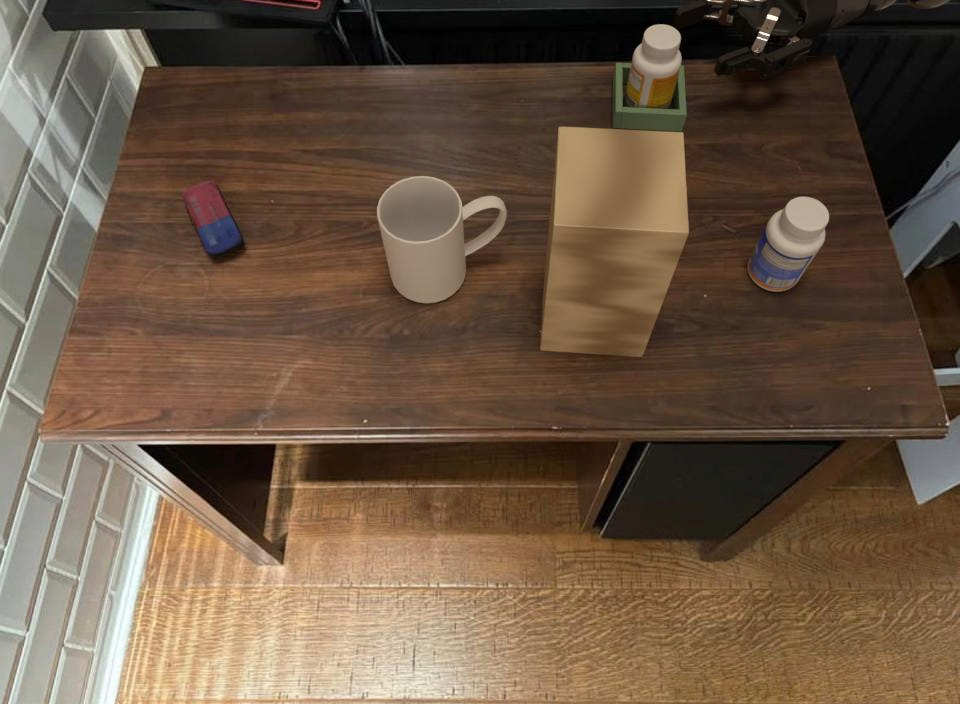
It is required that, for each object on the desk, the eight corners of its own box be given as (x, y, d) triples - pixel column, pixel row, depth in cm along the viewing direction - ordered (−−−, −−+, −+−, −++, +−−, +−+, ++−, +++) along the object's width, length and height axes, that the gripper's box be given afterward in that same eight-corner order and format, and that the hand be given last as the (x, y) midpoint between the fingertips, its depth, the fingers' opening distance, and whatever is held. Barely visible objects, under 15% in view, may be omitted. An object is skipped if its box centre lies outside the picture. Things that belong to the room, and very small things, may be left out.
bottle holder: (679, 82, 90) (684, 65, 87) (681, 131, 86) (687, 114, 84) (612, 79, 90) (615, 62, 88) (612, 128, 87) (615, 111, 84)
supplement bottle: (675, 96, 89) (694, 27, 80) (661, 127, 86) (679, 59, 78) (632, 83, 90) (646, 13, 81) (617, 113, 88) (630, 45, 79)
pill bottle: (766, 241, 79) (799, 179, 70) (809, 271, 77) (849, 211, 68) (735, 271, 77) (765, 212, 68) (778, 303, 75) (815, 246, 66)
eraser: (181, 196, 83) (175, 185, 82) (216, 182, 84) (210, 171, 82) (213, 267, 78) (207, 257, 77) (250, 251, 79) (245, 241, 77)
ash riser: (640, 272, 77) (683, 132, 59) (642, 357, 72) (689, 232, 55) (544, 266, 78) (558, 125, 60) (539, 350, 73) (553, 225, 55)
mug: (397, 311, 75) (383, 250, 66) (385, 249, 79) (370, 183, 70) (513, 288, 76) (516, 225, 67) (496, 228, 80) (496, 160, 71)
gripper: (790, -65, 86) (669, -25, 83) (870, 8, 79) (742, 55, 76) (769, -7, 92) (656, 32, 89) (841, 65, 86) (722, 110, 83)
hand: (696, 43), depth 83 cm, fingers open, 8 cm apart
